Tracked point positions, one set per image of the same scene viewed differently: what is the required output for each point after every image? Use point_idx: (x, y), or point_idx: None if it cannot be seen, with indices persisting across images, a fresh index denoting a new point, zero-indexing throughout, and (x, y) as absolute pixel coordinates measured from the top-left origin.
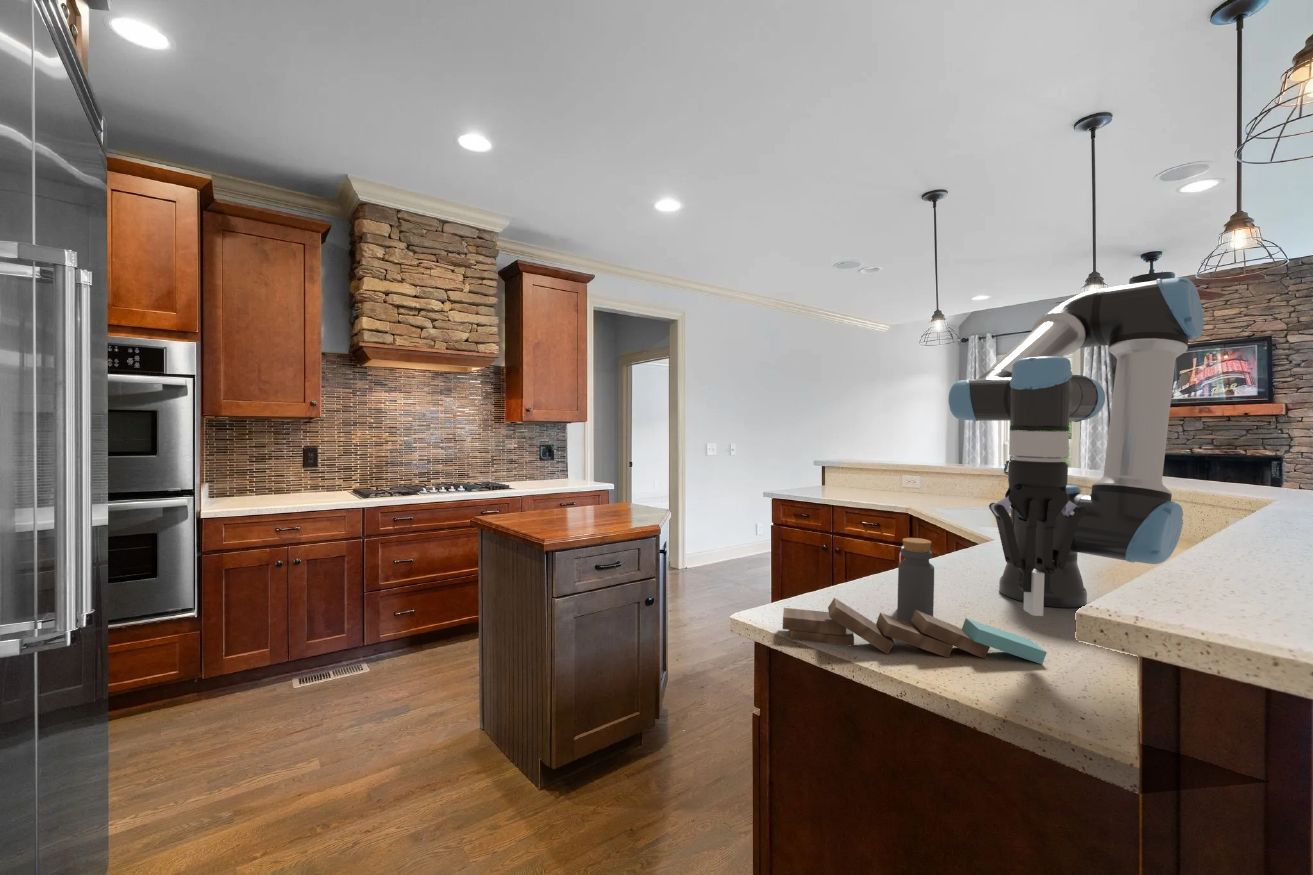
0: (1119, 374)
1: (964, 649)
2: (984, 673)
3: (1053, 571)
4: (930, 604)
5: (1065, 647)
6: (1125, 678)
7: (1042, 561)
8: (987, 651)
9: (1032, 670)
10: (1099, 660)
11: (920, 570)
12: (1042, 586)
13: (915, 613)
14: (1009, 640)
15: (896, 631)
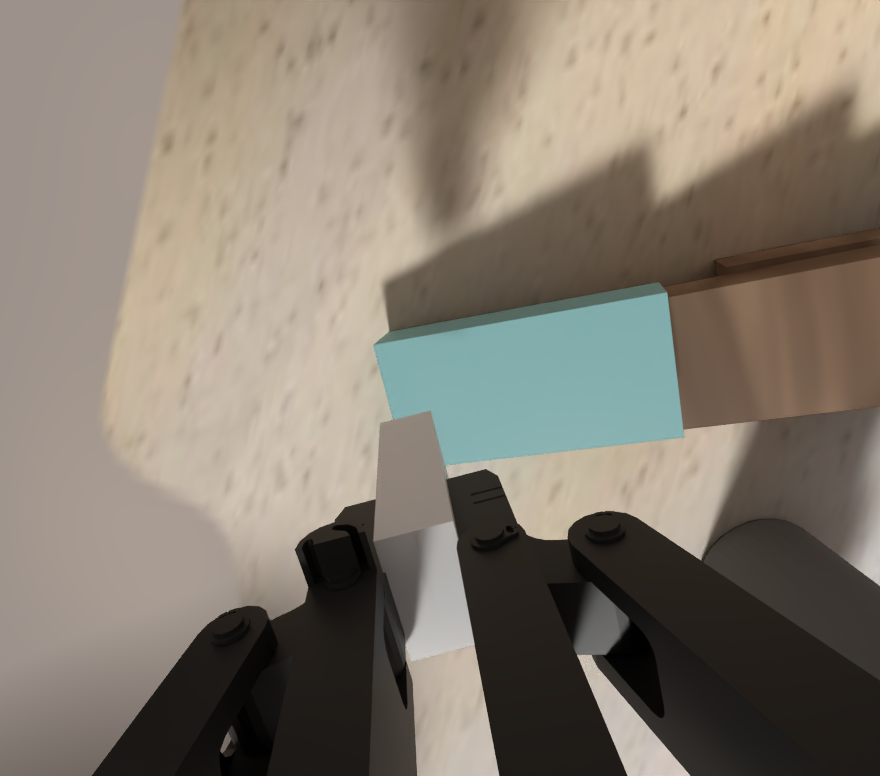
0: None
1: (672, 286)
2: (620, 146)
3: (308, 543)
4: (772, 599)
5: (268, 545)
6: (124, 308)
7: (381, 628)
8: None
9: (438, 253)
10: (177, 459)
11: None
12: (386, 488)
13: None
14: (522, 317)
15: None
